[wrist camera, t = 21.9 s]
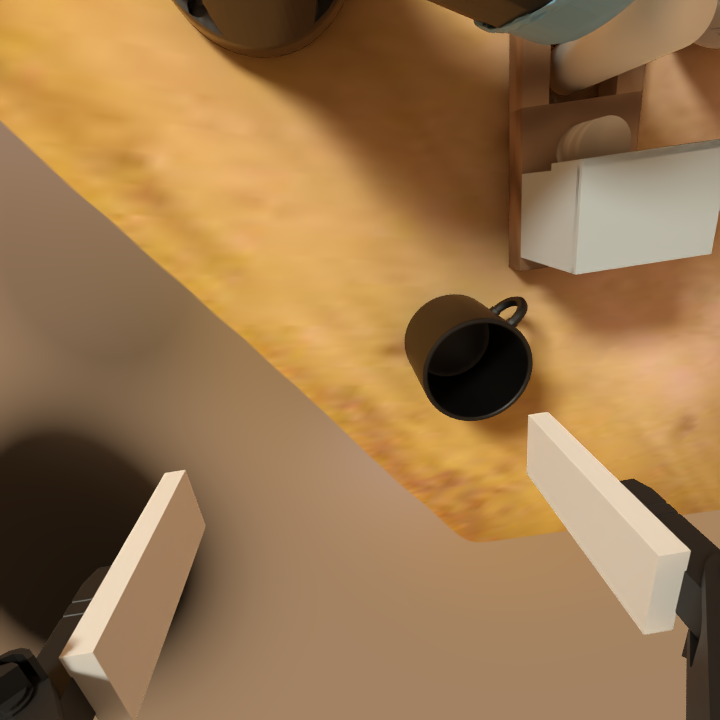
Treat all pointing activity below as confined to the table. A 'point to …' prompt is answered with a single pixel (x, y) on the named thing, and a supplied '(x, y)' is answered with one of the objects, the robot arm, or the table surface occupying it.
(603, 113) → the wooden tray
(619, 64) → the pin
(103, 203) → the table surface
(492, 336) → the mug
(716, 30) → the teacup
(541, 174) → the cover
